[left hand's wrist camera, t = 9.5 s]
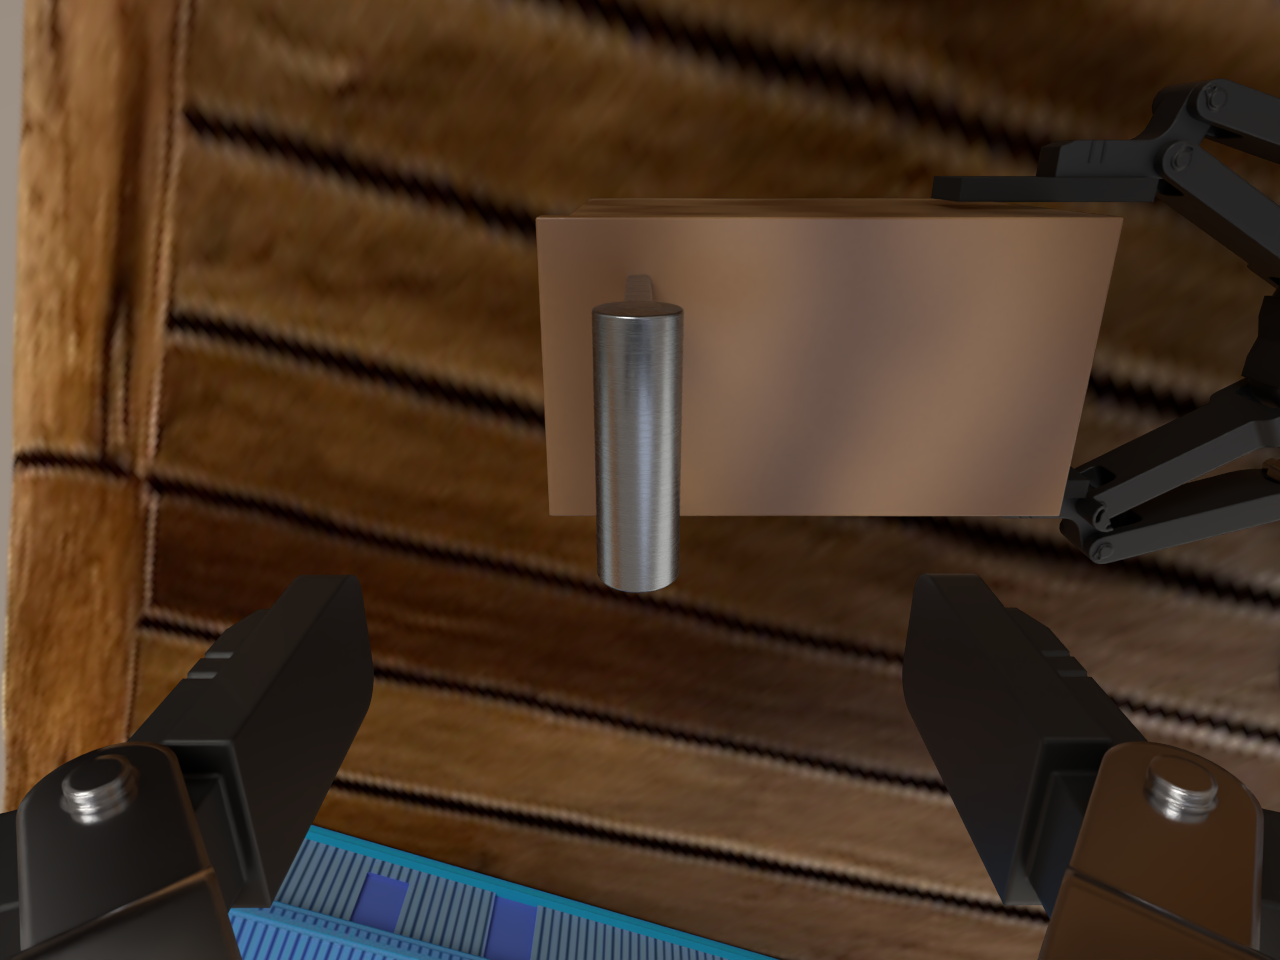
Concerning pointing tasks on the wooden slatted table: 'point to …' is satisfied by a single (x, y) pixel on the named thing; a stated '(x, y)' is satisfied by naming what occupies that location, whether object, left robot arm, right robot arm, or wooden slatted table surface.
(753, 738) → the wooden slatted table surface
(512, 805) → the wooden slatted table surface
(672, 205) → the chest
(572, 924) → the model building
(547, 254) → the lid
